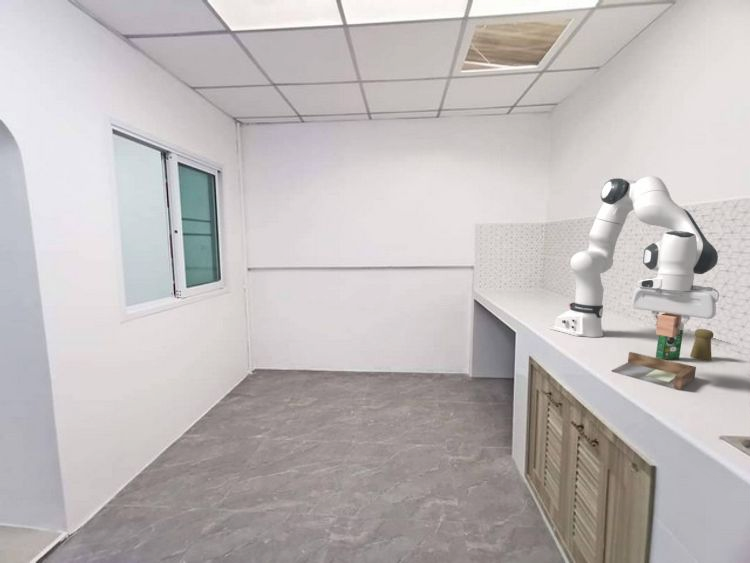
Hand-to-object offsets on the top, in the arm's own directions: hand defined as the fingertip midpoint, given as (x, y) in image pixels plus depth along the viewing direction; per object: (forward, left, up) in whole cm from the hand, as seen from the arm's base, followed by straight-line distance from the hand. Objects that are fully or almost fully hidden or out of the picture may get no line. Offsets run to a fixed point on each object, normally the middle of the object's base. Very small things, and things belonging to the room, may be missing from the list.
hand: (668, 327), depth 111 cm
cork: (+2, +37, -17) cm, 41 cm away
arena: (-2, -1, -16) cm, 17 cm away
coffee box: (-5, +25, -17) cm, 31 cm away
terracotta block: (0, 0, -2) cm, 2 cm away
